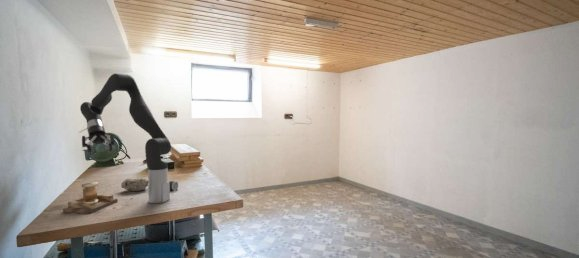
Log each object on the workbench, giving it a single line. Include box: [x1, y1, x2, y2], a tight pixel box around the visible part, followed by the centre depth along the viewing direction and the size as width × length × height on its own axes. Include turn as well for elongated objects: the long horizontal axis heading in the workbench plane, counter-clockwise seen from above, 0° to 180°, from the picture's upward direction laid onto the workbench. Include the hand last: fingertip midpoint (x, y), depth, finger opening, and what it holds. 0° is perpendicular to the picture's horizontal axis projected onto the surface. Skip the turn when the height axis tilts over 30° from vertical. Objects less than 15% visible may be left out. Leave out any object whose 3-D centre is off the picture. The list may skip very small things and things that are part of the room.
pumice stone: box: [120, 178, 148, 192], centre depth 153 cm, size 14×12×8 cm
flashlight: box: [168, 180, 179, 191], centre depth 156 cm, size 15×5×5 cm, turn 76°
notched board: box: [62, 194, 119, 214], centre depth 125 cm, size 14×16×4 cm
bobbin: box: [81, 181, 99, 204], centre depth 125 cm, size 6×6×10 cm
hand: (100, 151), depth 136 cm, fingers open, 8 cm apart
